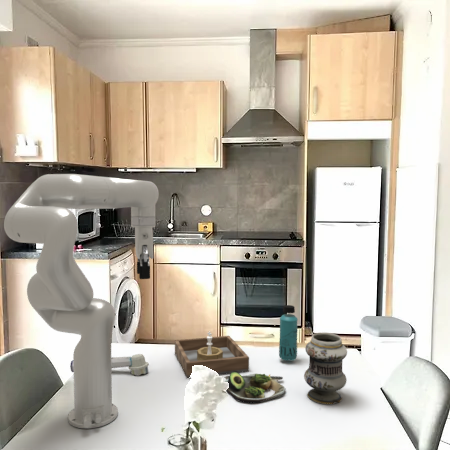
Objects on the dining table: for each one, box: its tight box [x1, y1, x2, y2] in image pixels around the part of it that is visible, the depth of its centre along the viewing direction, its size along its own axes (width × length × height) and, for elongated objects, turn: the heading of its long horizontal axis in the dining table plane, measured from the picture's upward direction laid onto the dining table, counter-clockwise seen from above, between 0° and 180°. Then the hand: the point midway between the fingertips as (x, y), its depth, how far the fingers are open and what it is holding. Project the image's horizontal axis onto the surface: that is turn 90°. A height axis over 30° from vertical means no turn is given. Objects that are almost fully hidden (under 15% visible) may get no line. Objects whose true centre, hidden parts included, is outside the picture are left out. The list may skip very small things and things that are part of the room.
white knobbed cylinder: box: [69, 353, 150, 376], centre depth 144 cm, size 5×7×25 cm
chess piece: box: [206, 330, 213, 355], centre depth 153 cm, size 5×5×10 cm
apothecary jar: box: [303, 332, 348, 405], centre depth 127 cm, size 12×12×18 cm
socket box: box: [174, 335, 250, 379], centre depth 153 cm, size 23×21×5 cm
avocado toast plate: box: [223, 372, 286, 404], centre depth 133 cm, size 19×18×5 cm
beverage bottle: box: [278, 304, 299, 361], centre depth 154 cm, size 6×7×20 cm
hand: (143, 276), depth 138 cm, fingers open, 9 cm apart
